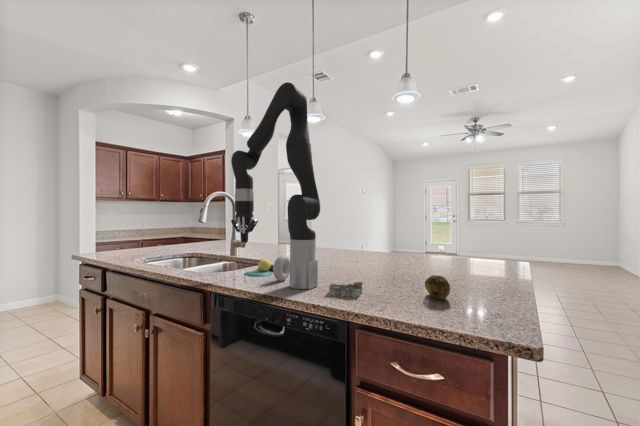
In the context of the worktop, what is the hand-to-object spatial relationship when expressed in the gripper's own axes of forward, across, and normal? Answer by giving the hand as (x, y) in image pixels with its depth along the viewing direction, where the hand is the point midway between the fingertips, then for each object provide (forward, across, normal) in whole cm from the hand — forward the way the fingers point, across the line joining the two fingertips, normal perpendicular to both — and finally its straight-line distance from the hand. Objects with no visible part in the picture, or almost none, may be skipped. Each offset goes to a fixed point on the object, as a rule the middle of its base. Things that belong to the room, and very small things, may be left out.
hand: (244, 242), depth 126 cm
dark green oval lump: (+16, -74, -7) cm, 75 cm away
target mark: (+14, 0, -9) cm, 17 cm away
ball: (+11, +1, -14) cm, 18 cm away
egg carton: (+16, -46, +2) cm, 49 cm away
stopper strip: (+14, 0, -18) cm, 23 cm away
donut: (+15, -17, -3) cm, 22 cm away
